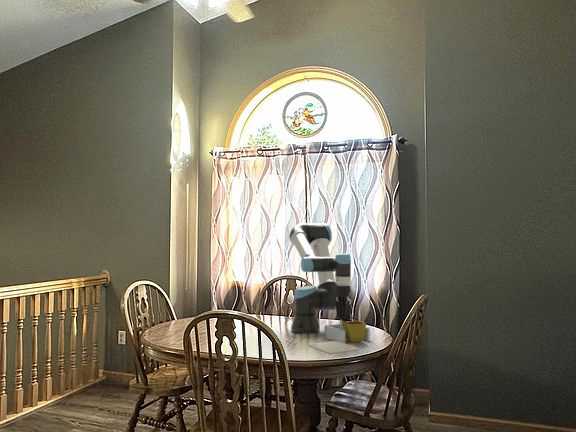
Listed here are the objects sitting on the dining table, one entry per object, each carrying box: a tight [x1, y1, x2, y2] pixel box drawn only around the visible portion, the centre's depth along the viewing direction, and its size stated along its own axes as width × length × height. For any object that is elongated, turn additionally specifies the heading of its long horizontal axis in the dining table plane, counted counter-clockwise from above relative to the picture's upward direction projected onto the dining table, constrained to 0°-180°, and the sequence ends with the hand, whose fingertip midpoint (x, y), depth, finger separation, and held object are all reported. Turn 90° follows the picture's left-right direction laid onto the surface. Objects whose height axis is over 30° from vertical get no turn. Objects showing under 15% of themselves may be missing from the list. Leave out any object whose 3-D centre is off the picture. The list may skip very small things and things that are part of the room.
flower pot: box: [343, 320, 367, 343], centre depth 252 cm, size 9×9×9 cm
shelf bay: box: [324, 323, 371, 344], centre depth 257 cm, size 16×15×6 cm
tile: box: [307, 340, 360, 354], centre depth 239 cm, size 18×16×1 cm
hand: (343, 332), depth 260 cm, fingers closed
